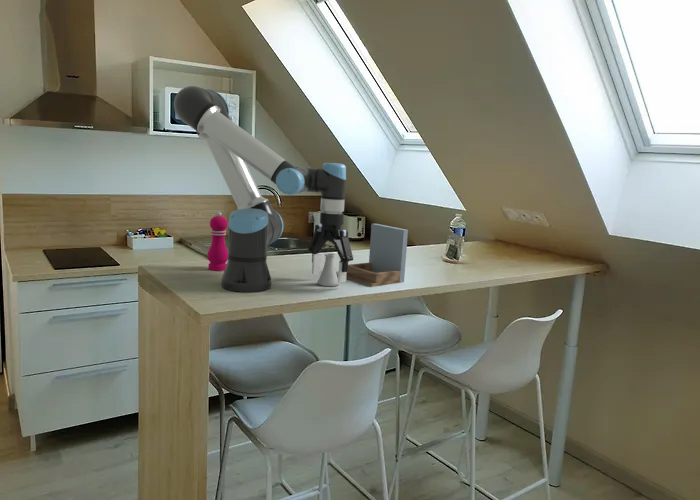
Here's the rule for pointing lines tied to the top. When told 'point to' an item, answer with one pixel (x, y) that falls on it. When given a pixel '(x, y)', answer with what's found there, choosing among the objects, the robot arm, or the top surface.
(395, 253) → the wall board
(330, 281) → the flask
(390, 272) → the wooden tray
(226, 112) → the robot arm
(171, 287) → the top surface
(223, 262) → the pepper mill
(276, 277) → the top surface
